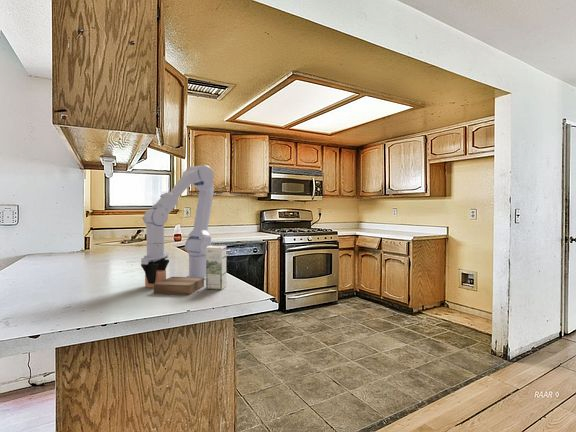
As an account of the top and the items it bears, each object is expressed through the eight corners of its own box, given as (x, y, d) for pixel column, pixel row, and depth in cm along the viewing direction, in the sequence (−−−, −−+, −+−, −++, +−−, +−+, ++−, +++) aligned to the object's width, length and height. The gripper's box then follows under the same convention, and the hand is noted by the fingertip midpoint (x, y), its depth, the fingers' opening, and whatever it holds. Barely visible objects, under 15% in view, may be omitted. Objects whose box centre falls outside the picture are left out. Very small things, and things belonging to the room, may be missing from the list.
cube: (153, 283, 120) (152, 270, 120) (166, 284, 120) (165, 270, 119) (145, 287, 115) (145, 272, 115) (158, 287, 115) (158, 273, 114)
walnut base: (171, 285, 119) (171, 276, 119) (204, 286, 117) (204, 277, 117) (153, 293, 107) (153, 284, 107) (189, 294, 105) (189, 285, 105)
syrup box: (227, 286, 117) (226, 244, 117) (222, 290, 112) (221, 246, 111) (211, 285, 118) (211, 244, 118) (205, 289, 112) (205, 246, 112)
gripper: (155, 240, 125) (156, 277, 125) (132, 245, 110) (132, 285, 111) (173, 241, 124) (173, 277, 124) (152, 245, 109) (152, 286, 110)
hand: (155, 281), depth 117 cm, fingers closed on cube, 5 cm apart
